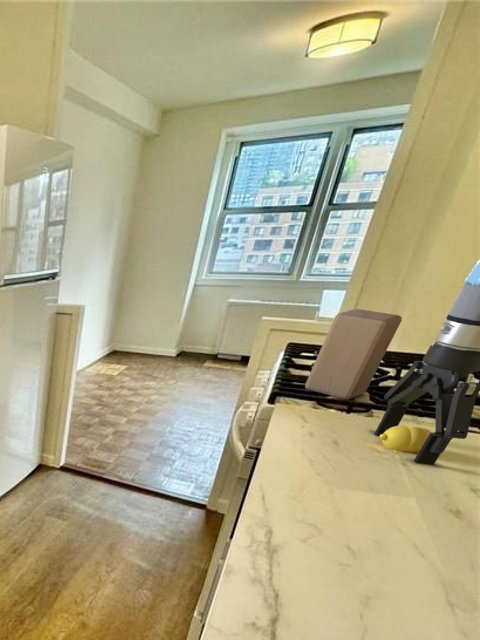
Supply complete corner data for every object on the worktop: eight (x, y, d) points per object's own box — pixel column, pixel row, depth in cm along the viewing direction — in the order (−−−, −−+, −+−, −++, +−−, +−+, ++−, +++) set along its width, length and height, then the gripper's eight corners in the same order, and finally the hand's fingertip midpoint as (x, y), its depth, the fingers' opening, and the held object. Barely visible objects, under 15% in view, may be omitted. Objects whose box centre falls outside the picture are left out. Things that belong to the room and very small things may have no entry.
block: (365, 393, 124) (405, 315, 115) (348, 401, 120) (388, 320, 110) (319, 382, 132) (353, 307, 122) (301, 389, 127) (335, 312, 118)
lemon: (416, 446, 99) (429, 424, 97) (433, 459, 95) (448, 435, 92) (366, 442, 101) (378, 419, 99) (381, 453, 97) (394, 430, 94)
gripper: (395, 327, 99) (347, 422, 109) (487, 365, 78) (417, 477, 89) (441, 330, 97) (388, 426, 107) (547, 369, 76) (469, 483, 87)
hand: (401, 449), depth 98 cm, fingers open, 12 cm apart
